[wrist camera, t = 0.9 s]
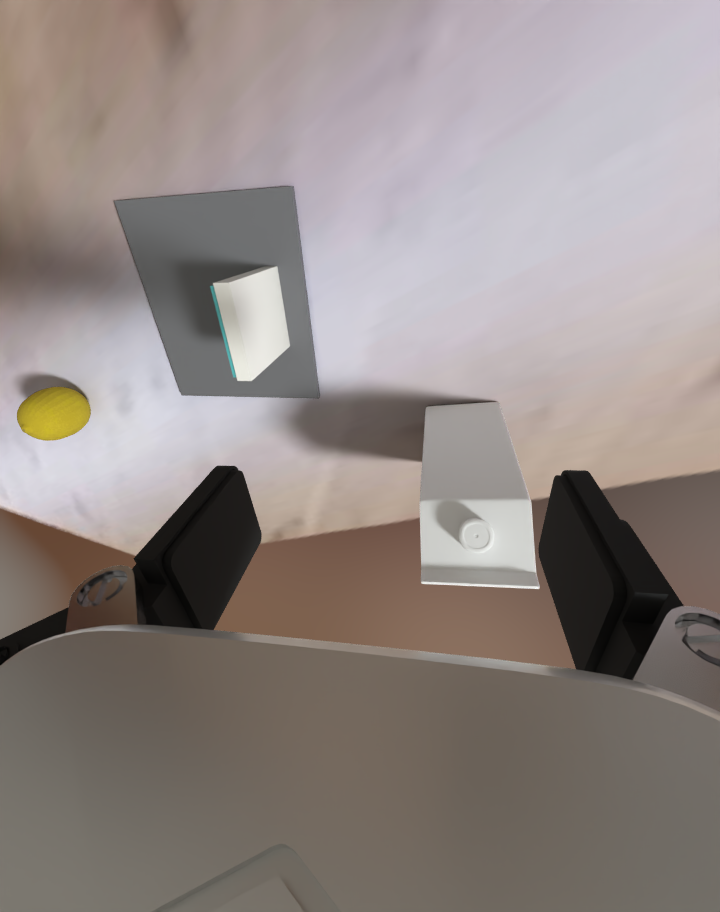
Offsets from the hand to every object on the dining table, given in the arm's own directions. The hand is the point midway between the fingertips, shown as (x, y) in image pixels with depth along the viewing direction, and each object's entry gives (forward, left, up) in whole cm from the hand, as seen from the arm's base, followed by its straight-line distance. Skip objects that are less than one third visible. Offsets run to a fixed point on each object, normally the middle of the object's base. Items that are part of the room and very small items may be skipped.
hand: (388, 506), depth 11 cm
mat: (-1, -18, -26) cm, 32 cm away
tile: (-1, -13, -26) cm, 29 cm away
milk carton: (+12, +5, -26) cm, 29 cm away
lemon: (+9, -40, -26) cm, 49 cm away
